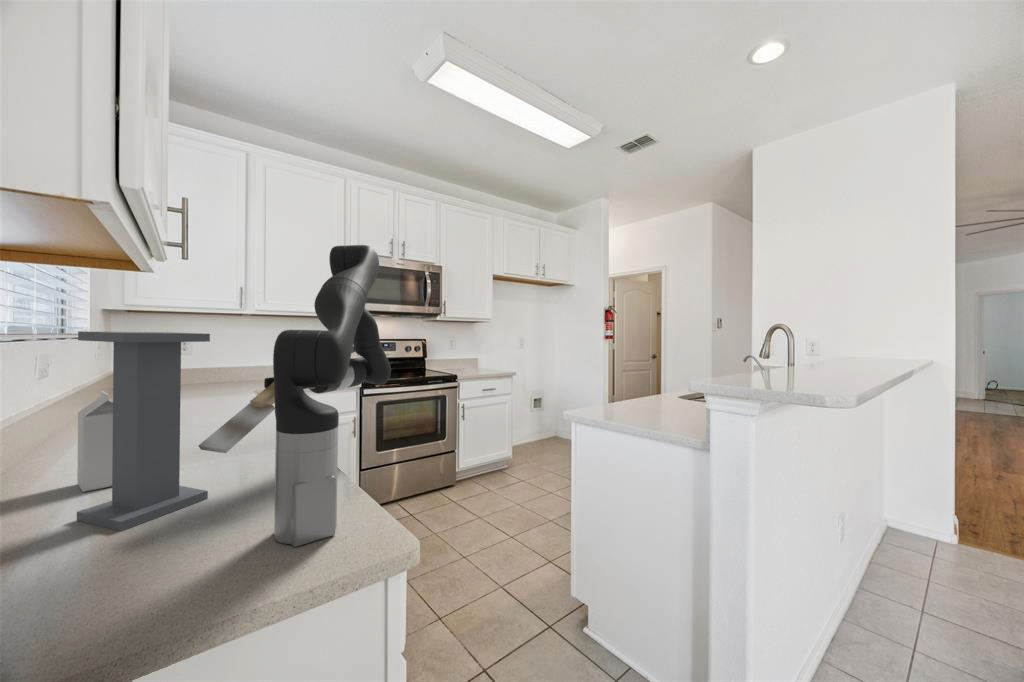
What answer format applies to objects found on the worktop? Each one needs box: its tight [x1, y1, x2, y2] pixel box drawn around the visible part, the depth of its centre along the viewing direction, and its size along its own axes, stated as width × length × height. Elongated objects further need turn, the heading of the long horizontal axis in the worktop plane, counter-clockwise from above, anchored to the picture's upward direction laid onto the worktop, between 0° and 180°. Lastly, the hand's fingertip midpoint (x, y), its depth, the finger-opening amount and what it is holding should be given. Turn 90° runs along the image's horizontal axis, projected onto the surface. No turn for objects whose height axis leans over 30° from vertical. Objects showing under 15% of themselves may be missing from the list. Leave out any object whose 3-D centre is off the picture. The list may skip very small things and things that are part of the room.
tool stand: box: [76, 331, 211, 532], centre depth 74 cm, size 14×11×32 cm
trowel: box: [198, 382, 275, 454], centre depth 82 cm, size 21×6×2 cm
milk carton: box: [77, 390, 113, 493], centre depth 86 cm, size 7×7×19 cm
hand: (271, 383), depth 85 cm, fingers closed on trowel, 2 cm apart
